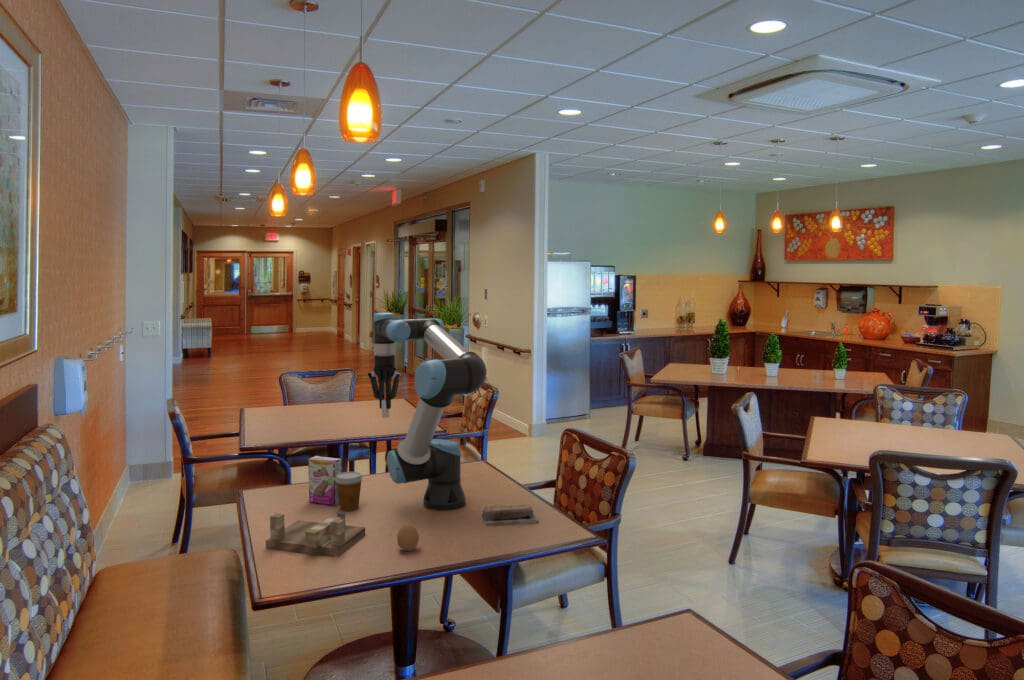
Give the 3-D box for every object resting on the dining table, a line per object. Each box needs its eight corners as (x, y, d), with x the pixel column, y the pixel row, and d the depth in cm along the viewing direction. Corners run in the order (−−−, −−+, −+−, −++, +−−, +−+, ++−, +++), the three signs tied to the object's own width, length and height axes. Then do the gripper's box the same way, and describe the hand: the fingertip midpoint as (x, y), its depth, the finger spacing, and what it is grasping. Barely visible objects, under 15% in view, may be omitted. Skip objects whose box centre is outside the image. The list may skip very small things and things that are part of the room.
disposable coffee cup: (366, 504, 256) (366, 471, 254) (358, 513, 246) (357, 479, 245) (340, 503, 257) (340, 470, 255) (331, 512, 247) (330, 478, 246)
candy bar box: (308, 503, 257) (307, 458, 255) (316, 499, 261) (315, 455, 260) (335, 506, 253) (334, 461, 251) (342, 502, 258) (342, 458, 256)
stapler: (485, 513, 234) (481, 503, 244) (485, 527, 234) (481, 517, 244) (538, 510, 237) (532, 500, 247) (538, 524, 237) (532, 514, 247)
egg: (403, 545, 218) (403, 519, 217) (422, 547, 216) (422, 521, 215) (393, 553, 212) (393, 526, 211) (413, 555, 210) (412, 528, 209)
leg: (332, 530, 222) (332, 516, 222) (342, 531, 221) (342, 517, 221) (305, 546, 209) (305, 531, 209) (315, 547, 208) (315, 533, 208)
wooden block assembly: (365, 534, 226) (364, 505, 225) (337, 556, 209) (337, 524, 208) (298, 527, 232) (297, 498, 231) (265, 548, 215) (264, 517, 214)
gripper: (405, 353, 264) (405, 416, 266) (372, 352, 267) (373, 414, 270) (396, 356, 257) (397, 420, 259) (363, 355, 260) (364, 418, 262)
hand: (385, 417), depth 264 cm, fingers closed
